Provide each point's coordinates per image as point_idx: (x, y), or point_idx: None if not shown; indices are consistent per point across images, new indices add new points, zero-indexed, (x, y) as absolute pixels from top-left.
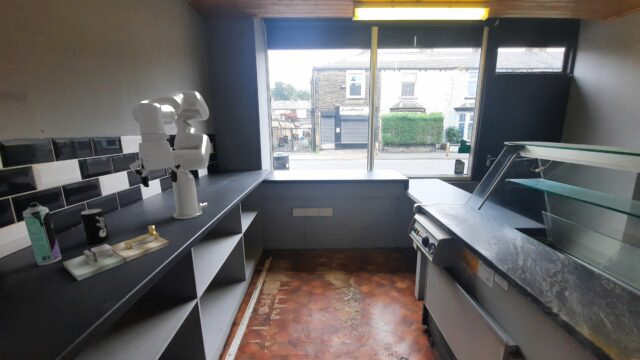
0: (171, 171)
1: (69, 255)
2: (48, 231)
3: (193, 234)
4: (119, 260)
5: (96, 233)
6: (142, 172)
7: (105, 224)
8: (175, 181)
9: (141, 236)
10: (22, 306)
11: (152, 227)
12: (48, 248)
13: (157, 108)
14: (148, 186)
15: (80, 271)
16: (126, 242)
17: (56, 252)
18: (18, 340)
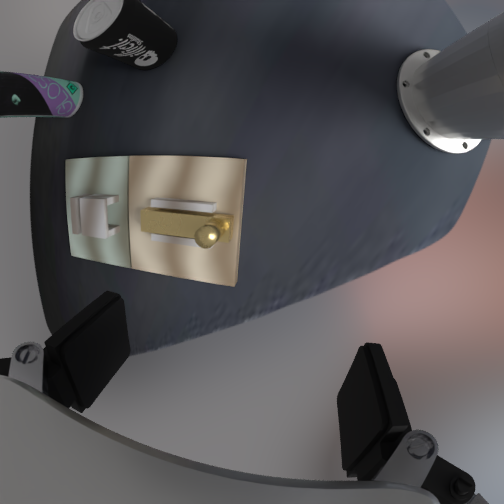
0: (377, 450)
1: (91, 100)
2: (17, 113)
3: (322, 284)
4: (123, 266)
5: (129, 63)
6: (30, 385)
7: (148, 42)
8: (340, 403)
9: (184, 215)
10: (40, 254)
11: (204, 247)
12: (44, 116)
13: None
14: (123, 356)
15: (75, 241)
16: (142, 220)
17: (62, 111)
18: (49, 320)
